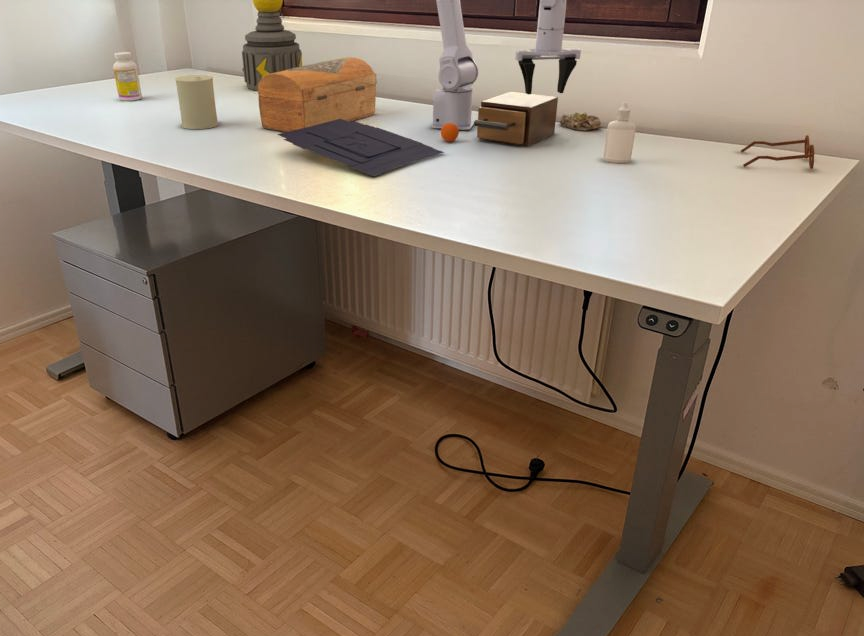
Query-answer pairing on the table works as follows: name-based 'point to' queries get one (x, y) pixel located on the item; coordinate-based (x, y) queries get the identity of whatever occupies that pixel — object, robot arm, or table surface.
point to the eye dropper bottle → (620, 138)
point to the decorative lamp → (268, 45)
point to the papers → (360, 145)
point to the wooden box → (317, 94)
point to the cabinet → (529, 113)
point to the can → (197, 101)
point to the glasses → (808, 149)
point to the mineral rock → (580, 121)
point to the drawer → (501, 124)
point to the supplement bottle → (126, 77)
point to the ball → (449, 132)
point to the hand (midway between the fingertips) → (544, 93)
